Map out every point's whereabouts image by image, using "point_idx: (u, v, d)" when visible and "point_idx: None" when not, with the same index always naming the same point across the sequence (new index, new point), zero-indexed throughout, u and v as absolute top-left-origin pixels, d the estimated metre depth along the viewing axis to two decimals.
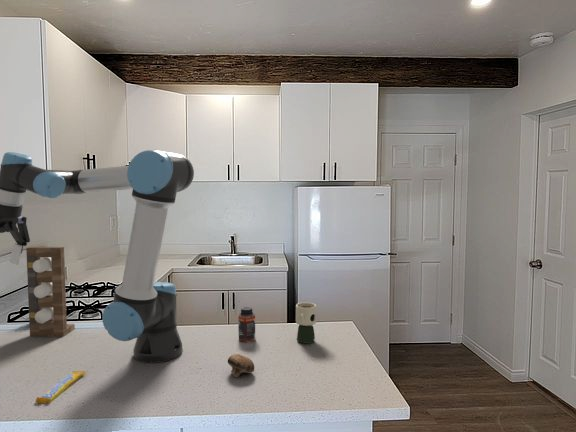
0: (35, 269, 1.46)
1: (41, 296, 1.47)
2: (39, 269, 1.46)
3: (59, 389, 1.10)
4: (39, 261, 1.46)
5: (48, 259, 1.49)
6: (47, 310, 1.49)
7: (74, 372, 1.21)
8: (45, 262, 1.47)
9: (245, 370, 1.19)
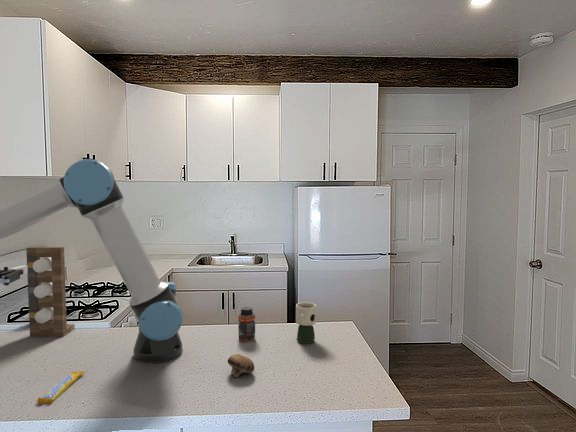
0: (35, 269, 1.46)
1: (41, 296, 1.47)
2: (39, 269, 1.46)
3: (60, 389, 1.10)
4: (39, 261, 1.46)
5: (48, 259, 1.49)
6: (47, 310, 1.49)
7: (73, 372, 1.20)
8: (45, 262, 1.47)
9: (245, 370, 1.19)
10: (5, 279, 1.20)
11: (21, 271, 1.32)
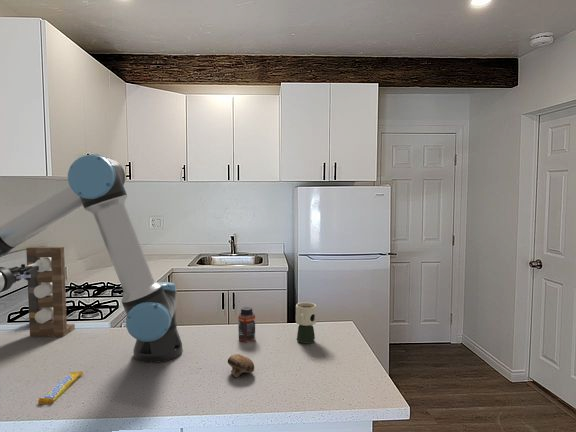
0: None
1: (41, 296, 1.47)
2: None
3: (60, 389, 1.10)
4: (41, 261, 1.47)
5: (49, 259, 1.50)
6: (47, 310, 1.49)
7: (71, 373, 1.20)
8: (47, 262, 1.48)
9: (245, 370, 1.19)
10: (27, 274, 1.30)
11: (37, 267, 1.42)
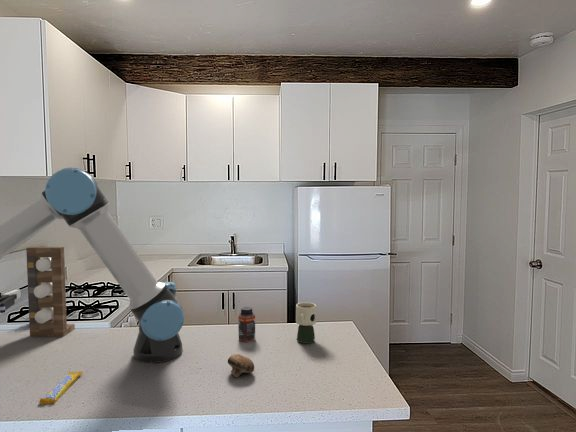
0: (38, 268, 1.48)
1: (41, 296, 1.47)
2: (42, 268, 1.48)
3: (61, 389, 1.10)
4: (42, 260, 1.48)
5: None
6: (47, 310, 1.49)
7: (70, 373, 1.20)
8: (48, 261, 1.48)
9: (245, 370, 1.19)
10: (1, 306, 1.19)
11: (15, 296, 1.31)
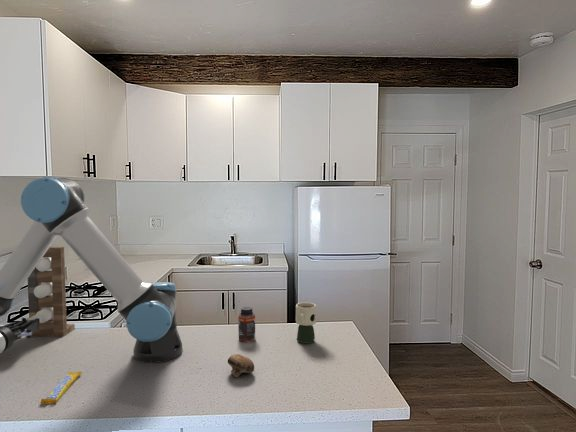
0: (38, 268, 1.48)
1: (41, 296, 1.47)
2: (42, 268, 1.48)
3: (61, 390, 1.10)
4: (42, 260, 1.48)
5: None
6: (47, 310, 1.49)
7: (69, 373, 1.20)
8: (48, 261, 1.48)
9: (245, 370, 1.19)
10: (28, 332, 1.31)
11: (38, 320, 1.43)
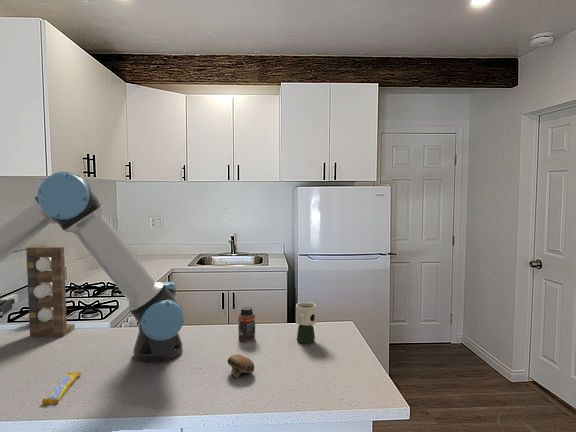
0: (38, 268, 1.48)
1: (41, 296, 1.47)
2: (42, 268, 1.48)
3: (62, 390, 1.10)
4: (42, 260, 1.48)
5: None
6: (50, 309, 1.51)
7: (69, 373, 1.20)
8: (48, 261, 1.48)
9: (245, 370, 1.19)
10: None
11: (12, 301, 1.31)
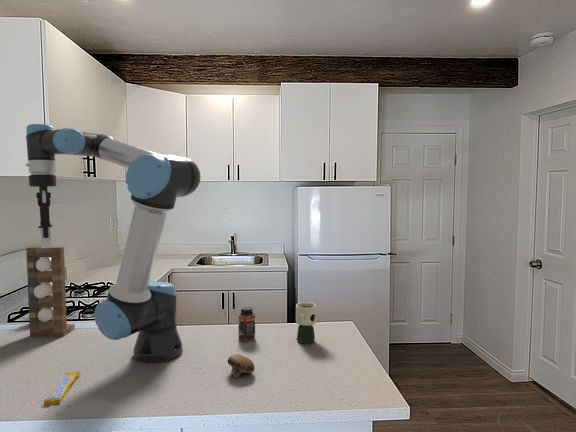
0: (38, 268, 1.48)
1: (41, 296, 1.47)
2: (42, 268, 1.48)
3: (63, 390, 1.10)
4: (42, 260, 1.48)
5: None
6: (50, 309, 1.51)
7: (67, 374, 1.20)
8: (48, 261, 1.48)
9: (245, 370, 1.19)
10: (45, 196, 1.30)
11: (47, 234, 1.34)
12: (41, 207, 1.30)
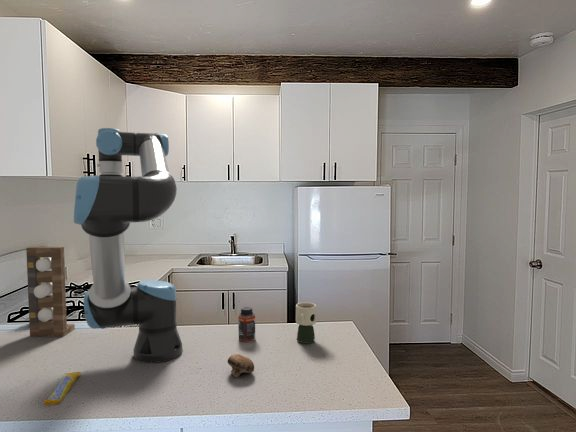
0: (38, 268, 1.48)
1: (41, 296, 1.47)
2: (42, 268, 1.48)
3: (63, 390, 1.09)
4: (42, 260, 1.48)
5: None
6: (50, 309, 1.51)
7: (68, 374, 1.19)
8: (48, 261, 1.48)
9: (245, 370, 1.19)
10: None
11: None
12: None
